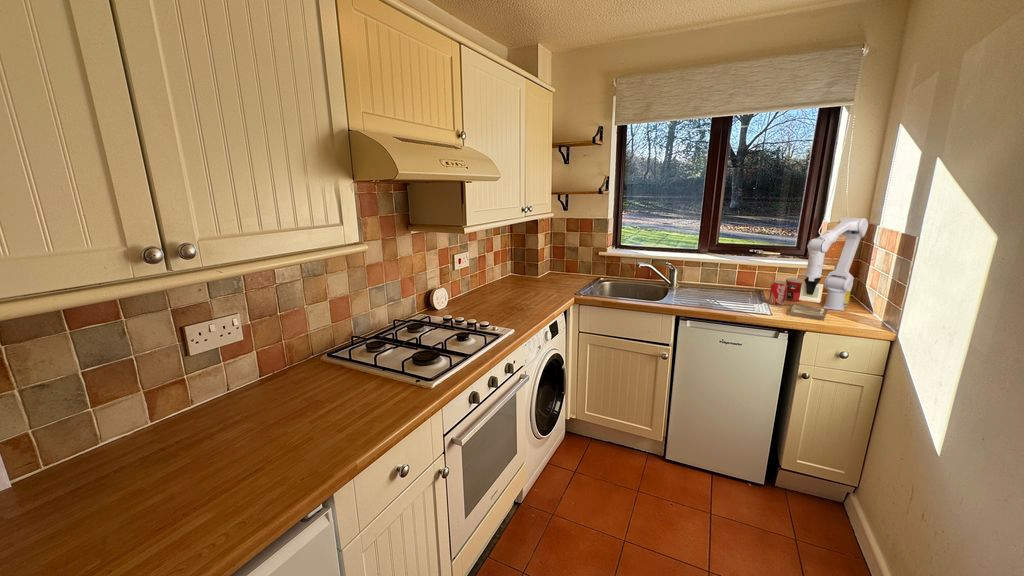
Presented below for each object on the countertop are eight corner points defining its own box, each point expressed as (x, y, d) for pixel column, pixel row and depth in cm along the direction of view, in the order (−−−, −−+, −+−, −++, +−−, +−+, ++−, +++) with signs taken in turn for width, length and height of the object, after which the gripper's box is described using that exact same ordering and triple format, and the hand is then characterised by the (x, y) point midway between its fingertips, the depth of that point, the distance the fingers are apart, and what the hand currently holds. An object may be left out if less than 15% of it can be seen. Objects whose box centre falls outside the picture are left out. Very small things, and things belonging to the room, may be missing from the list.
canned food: (779, 298, 223) (782, 278, 221) (795, 298, 223) (798, 278, 220) (788, 301, 216) (791, 281, 213) (804, 301, 215) (807, 281, 213)
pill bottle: (848, 307, 206) (852, 284, 203) (832, 304, 210) (836, 282, 207) (848, 304, 211) (852, 281, 208) (832, 302, 215) (836, 280, 212)
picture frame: (800, 297, 199) (803, 281, 197) (820, 300, 194) (823, 283, 192) (798, 299, 195) (801, 283, 193) (819, 302, 190) (822, 285, 188)
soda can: (771, 306, 209) (774, 283, 206) (766, 302, 215) (769, 279, 212) (787, 306, 207) (790, 283, 204) (781, 303, 214) (785, 280, 211)
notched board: (793, 305, 209) (793, 300, 209) (827, 310, 200) (828, 305, 200) (786, 314, 194) (787, 309, 194) (823, 320, 186) (824, 315, 185)
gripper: (806, 261, 198) (802, 289, 201) (802, 266, 188) (797, 295, 191) (824, 263, 194) (819, 291, 197) (821, 268, 183) (816, 297, 186)
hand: (810, 293), depth 194 cm, fingers closed on picture frame, 3 cm apart
